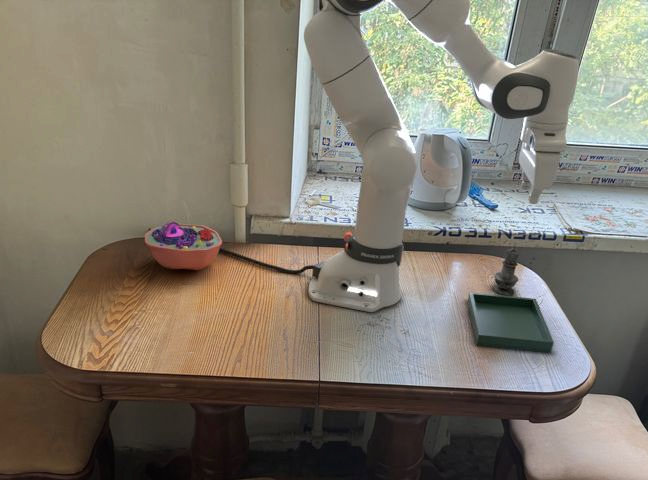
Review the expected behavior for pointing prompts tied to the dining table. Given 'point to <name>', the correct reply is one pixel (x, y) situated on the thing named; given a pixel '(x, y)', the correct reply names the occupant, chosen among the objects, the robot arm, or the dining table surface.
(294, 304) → the dining table surface
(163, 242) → the cell model
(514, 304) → the tray
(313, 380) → the dining table surface
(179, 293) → the dining table surface
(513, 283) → the dark grey chess piece
